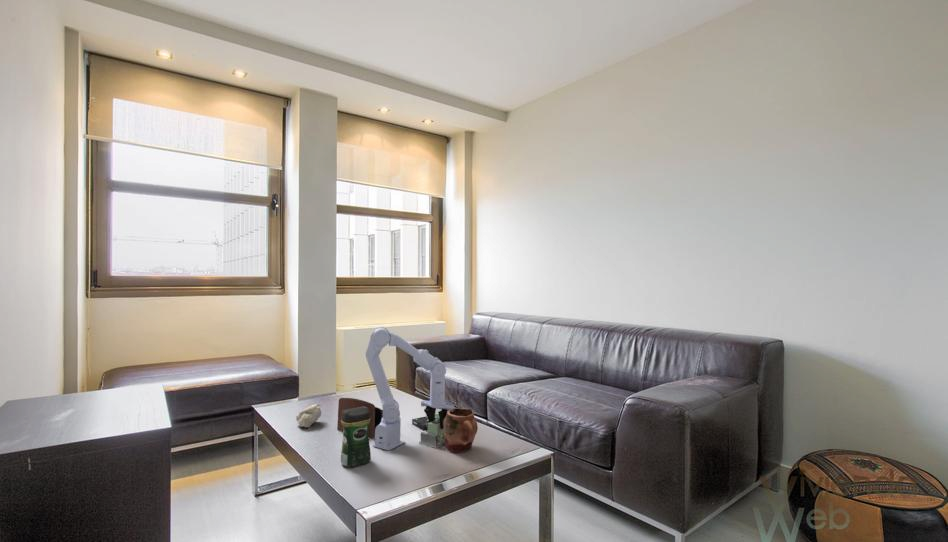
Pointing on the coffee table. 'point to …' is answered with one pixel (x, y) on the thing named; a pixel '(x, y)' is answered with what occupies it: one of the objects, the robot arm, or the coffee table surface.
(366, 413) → the coffee jar
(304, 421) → the fossil replica
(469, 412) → the decorative planter
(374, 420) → the letter holder
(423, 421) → the disk drive
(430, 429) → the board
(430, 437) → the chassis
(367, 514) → the coffee table surface
